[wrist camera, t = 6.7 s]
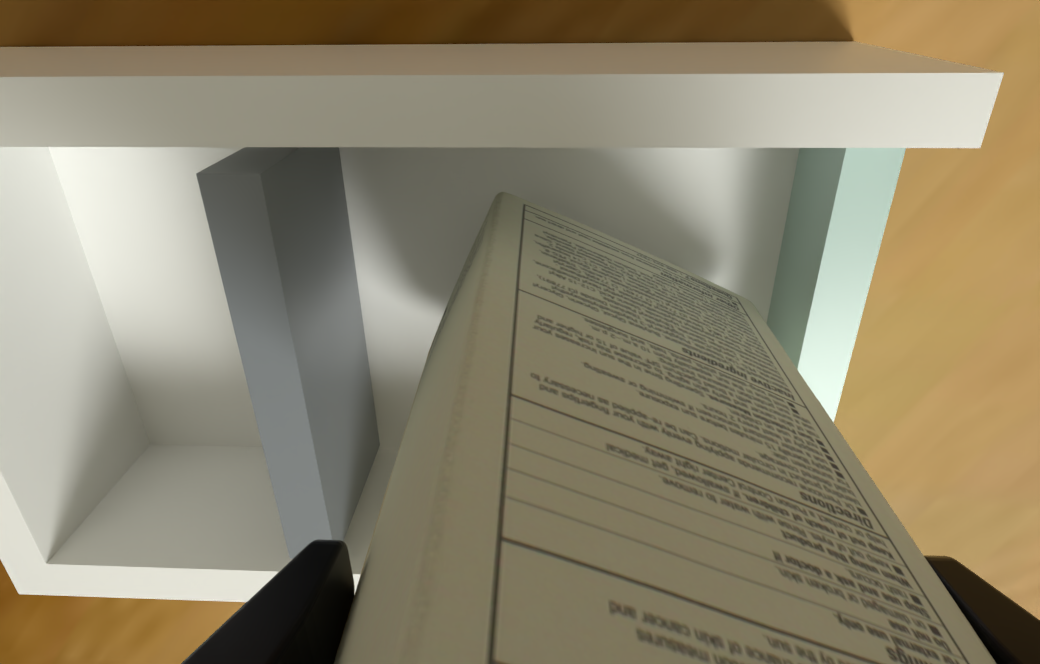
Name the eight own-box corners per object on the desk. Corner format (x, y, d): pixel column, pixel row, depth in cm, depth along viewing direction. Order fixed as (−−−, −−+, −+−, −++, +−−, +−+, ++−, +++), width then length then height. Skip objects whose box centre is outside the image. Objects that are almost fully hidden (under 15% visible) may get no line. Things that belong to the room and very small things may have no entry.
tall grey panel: (342, 444, 17) (289, 559, 14) (287, 124, 14) (195, 173, 10) (380, 444, 17) (336, 559, 14) (335, 124, 13) (260, 173, 10)
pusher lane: (141, 453, 19) (18, 594, 15) (-3, 46, 14) (-255, 78, 10) (765, 469, 18) (829, 622, 14) (855, 41, 13) (1003, 72, 9)
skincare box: (426, 350, 15) (104, 1265, 4) (502, 174, 13) (250, 1060, 2) (669, 447, 16) (894, 1392, 5) (773, 297, 14) (1478, 1323, 3)
